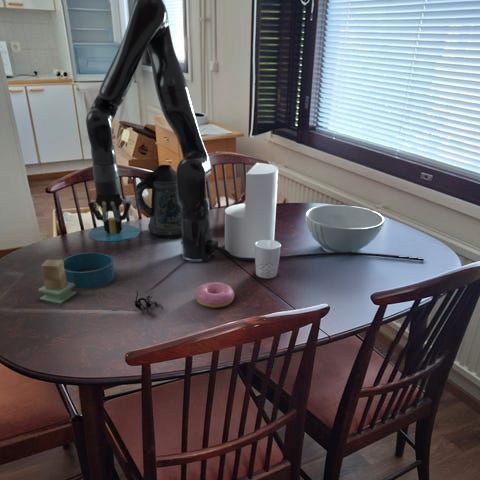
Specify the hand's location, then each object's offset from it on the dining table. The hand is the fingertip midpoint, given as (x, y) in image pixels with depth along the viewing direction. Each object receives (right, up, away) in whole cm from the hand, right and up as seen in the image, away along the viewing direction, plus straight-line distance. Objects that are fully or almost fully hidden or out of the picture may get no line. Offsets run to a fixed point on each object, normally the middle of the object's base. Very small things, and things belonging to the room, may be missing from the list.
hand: (113, 231), depth 155 cm
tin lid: (0, -1, 0) cm, 1 cm away
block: (-10, -19, -23) cm, 32 cm away
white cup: (+50, -14, -5) cm, 52 cm away
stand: (-10, -22, -21) cm, 32 cm away
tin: (-5, -16, -10) cm, 20 cm away
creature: (+17, -26, -27) cm, 42 cm away
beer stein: (+14, +3, +24) cm, 28 cm away
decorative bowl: (+77, -3, +15) cm, 79 cm away
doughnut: (+34, -24, -21) cm, 47 cm away
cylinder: (+44, -4, +13) cm, 46 cm away
